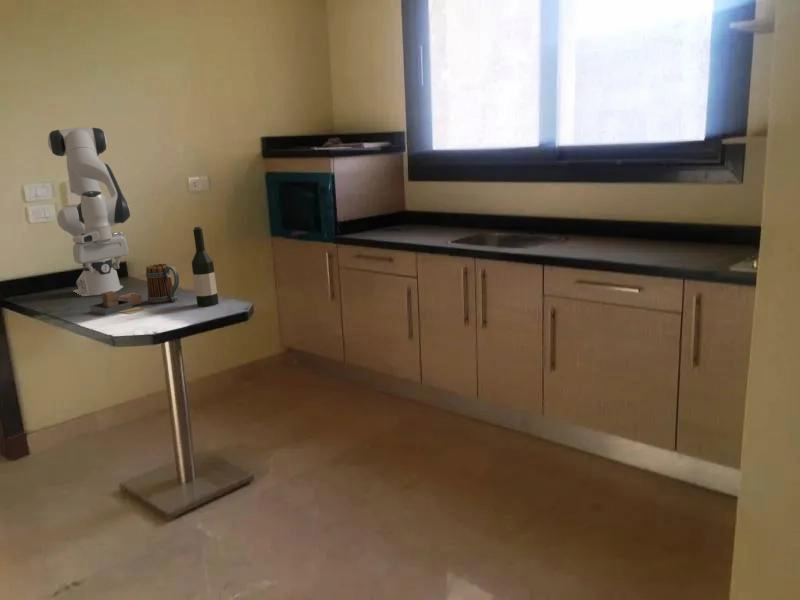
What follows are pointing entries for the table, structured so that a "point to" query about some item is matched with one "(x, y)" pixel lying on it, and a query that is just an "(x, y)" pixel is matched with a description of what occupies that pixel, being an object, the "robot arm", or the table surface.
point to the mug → (161, 283)
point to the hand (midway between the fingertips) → (105, 271)
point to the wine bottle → (203, 273)
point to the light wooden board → (133, 310)
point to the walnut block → (109, 299)
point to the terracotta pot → (132, 298)
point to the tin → (110, 308)
